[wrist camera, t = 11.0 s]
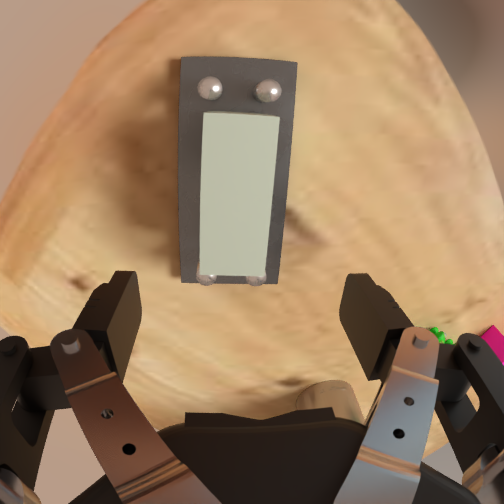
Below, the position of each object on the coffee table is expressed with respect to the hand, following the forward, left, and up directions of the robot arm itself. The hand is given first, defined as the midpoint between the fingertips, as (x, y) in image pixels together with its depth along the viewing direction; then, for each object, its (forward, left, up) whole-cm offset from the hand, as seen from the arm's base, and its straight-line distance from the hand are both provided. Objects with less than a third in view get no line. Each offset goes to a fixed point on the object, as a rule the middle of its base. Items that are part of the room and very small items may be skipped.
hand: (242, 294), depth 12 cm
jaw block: (0, 0, -19) cm, 19 cm away
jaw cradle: (0, 0, -20) cm, 20 cm away
